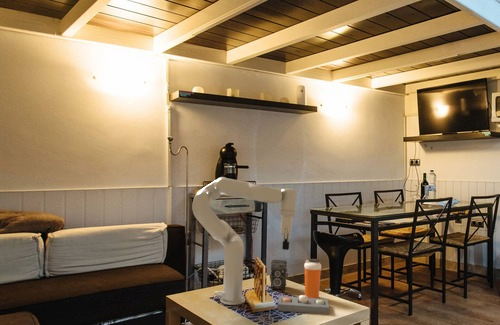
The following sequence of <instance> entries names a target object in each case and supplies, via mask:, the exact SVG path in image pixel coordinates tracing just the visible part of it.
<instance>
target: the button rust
mask: <svg viewBox="0 0 500 325" xmlns="http://www.w3.org/2000/svg"><path fill="white" fill-rule="evenodd" d="M287 297H288V296H287ZM287 297H285V298H283V300H282V302H290V303H291V299H290V298H287Z"/></svg>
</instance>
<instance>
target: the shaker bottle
mask: <svg viewBox="0 0 500 325" xmlns="http://www.w3.org/2000/svg"><path fill="white" fill-rule="evenodd" d="M320 262H321V260H320V259H316V258H312V259H311V258H310V257H308V258H307V259H305V262H304V264H303V265H304V295H306V296H307V298H318V299H320V298H319V297H320V289H321V288H320V285H321V274H322V272H321V271H322V264H321V263H320Z"/></svg>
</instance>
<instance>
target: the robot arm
mask: <svg viewBox="0 0 500 325" xmlns="http://www.w3.org/2000/svg"><path fill="white" fill-rule="evenodd" d="M221 196H227V197H234V198H239V199H240V198H241V199H245V200H249V201H250V200H252V201H257V202H263V203H267V204H272V205H273V204H275V205H276V204H278V203H280V205H279V206H280V207H279V216H280V217H281V220H280V222H281V223H280V236H281V237H282V236H283V238H282V240H283V241H282V246H281V247H282V249H281V250H284V251H285V250H287V251H288V250H290V236H291V235H292V234H291V233H292V227H293V218H294V217H296V216H295V215H296V201H297V200H296V198H297V197H296V196H297V190H295V189H294V188H279V187H273V186H272V187H271V186H269V187H268V186H263V185H259V184H255V183H253V182H249V181H245V180H241V179H240V180H239V179H233V178H227V177H225V176H220V177H218V178H217V179H214V181H212V182H211V183H209V184H207V185H206V186H204V187H203V188H201V189H199V190H198V191H197V192H196V193H195V195H194V198H193V199H192V200H193V201H192V204H191V205H192V206H191V208H192V214H193V216H194V218H195V219H196V220H197V221H198V222H199V224H200V225H201V226H202V227H203V228H204V229H205V230H206V232H208V234H209V235H210V237H211V238H212V239H214V240H215V241H218V242H219V243H220V244H221V246H223V249H224V250H223V251H224V252H223V253H224V255H223V257H224V258H223V259H224V260H223V286H222V288H223V290H221V291H219V290H218V291H217V290H215V291H214V296H215V297H219V302H220V303H222V304H225V305H230V306H232V305H233V306H236V305H241V304H244V303H245V302H246V297H244V296H243V278H244V255H245V247H244V242H243V240H242V238H241V237H240V236H239V234H238V233H237V232H236V231H235V230H234V229H233V227H231V226H230V225H229V224H228V222H226V221H225V220H223V219H220V218H219V217H218V216H217V214H216V213H215V212H213V210H212V209H211V206H210V205H211V203H213V201H216V200H217V199H218V198H220V197H221Z"/></svg>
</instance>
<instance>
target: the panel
mask: <svg viewBox="0 0 500 325" xmlns="http://www.w3.org/2000/svg"><path fill="white" fill-rule="evenodd" d="M285 297H287V298H290V299H291V303H290V302H282V300H283V298H285ZM277 299H278V300H277V301H278V302H277V311H280V312H295V313H308V314H309V313H310V314H324V315H330V306H329V305H330V304H329V301H328V298H307V304H306V303H299V296H287V295H285V296H284V295H279V296H278V298H277ZM316 300H323V301H324V305H321V304H316Z"/></svg>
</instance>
